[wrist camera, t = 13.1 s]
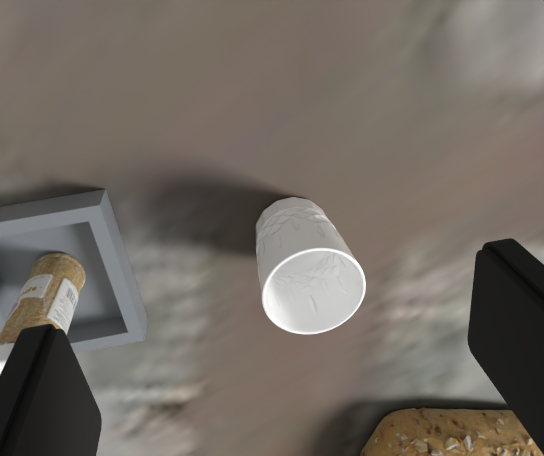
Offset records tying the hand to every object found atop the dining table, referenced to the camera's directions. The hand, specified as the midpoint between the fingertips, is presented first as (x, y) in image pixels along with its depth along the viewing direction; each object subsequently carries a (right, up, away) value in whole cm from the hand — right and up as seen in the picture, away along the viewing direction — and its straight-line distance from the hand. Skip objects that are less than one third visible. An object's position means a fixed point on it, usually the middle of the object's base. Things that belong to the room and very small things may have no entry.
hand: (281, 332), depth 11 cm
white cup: (+2, +2, +34) cm, 34 cm away
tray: (-19, -2, +33) cm, 38 cm away
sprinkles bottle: (-19, -2, +32) cm, 37 cm away
